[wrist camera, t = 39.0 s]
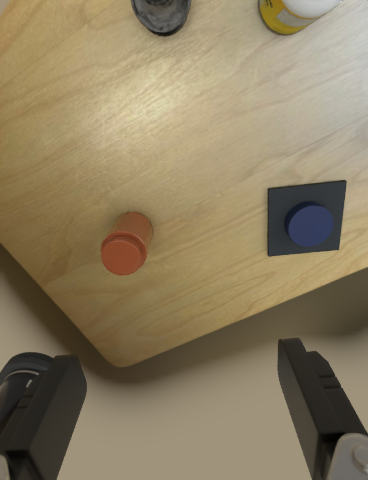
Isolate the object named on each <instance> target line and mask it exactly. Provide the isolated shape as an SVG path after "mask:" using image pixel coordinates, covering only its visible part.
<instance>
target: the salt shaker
mask: <svg viewBox="0 0 368 480" xmlns="http://www.w3.org/2000/svg"><path fill="white" fill-rule="evenodd" d="M131 3H132V8H133V10H134V12H135V14H136V16H137V18H138V19H139V20H140V22H141V23H142V24H143V25H144V26H146V27H147V28H148V29H149V30H150V31H151V32H152V33H154V34H156V35H159V36H170V35H173V34H174V33H176V32H178V31H179V30H180V29H181V28H182V26H183V25H184V23H185V21H186V18H187V15H188V12H189V9H190V5H191V0H131Z"/></svg>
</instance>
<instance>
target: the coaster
mask: <svg viewBox="0 0 368 480" xmlns="http://www.w3.org/2000/svg"><path fill="white" fill-rule="evenodd" d="M346 182H347V181H345V180H342V181H333V182H324V183H315V184H305V185H296V186H287V187H278V188H268V256H278V255H289V254H299V253H310V252H320V251H331V250H339V244H340V235H341V226H342V217H343V209H344V200H345V191H346ZM308 201H311V202H316V203H319V204H320V205H322V206H323V207H324V208H326V209H327V210H328V211H329V212H330V213H331V215H332V217H333V229H332V231H331V233H330V235H329V236H328V237H327V238H326V239H325V240H324V241H323V242H321V243H320V244H317V245H315V246H310V247H305V246H300V245H298V244H296V243H295V242H293V241H292V239H291V238H290V237H289V236H288V234H287V233H286V231H285V227H284V222H285V218H286V216H287V214H288V212H289V211H290V210H291V209H292V208H293V207H294V206H296V205H298V204H300V203H302V202H308Z"/></svg>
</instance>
